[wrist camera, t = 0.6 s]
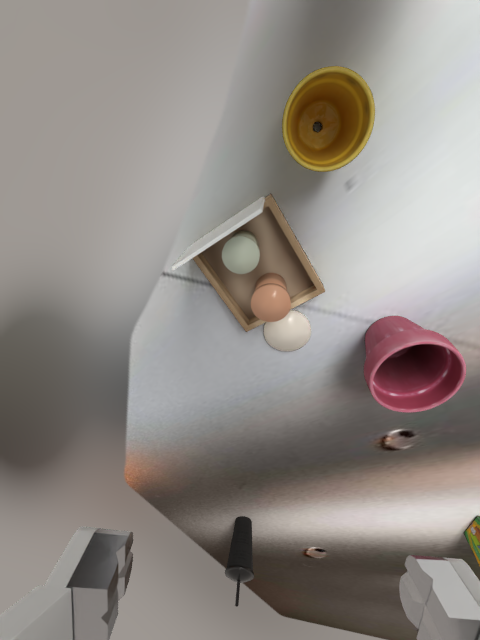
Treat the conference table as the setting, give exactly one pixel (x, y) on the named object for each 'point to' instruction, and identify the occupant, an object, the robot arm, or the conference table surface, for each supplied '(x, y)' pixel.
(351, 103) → the plant pot
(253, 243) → the sage pot
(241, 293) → the brown wooden tray
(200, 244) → the propped lid
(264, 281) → the peach mushroom knob
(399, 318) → the plant pot
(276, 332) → the cream disc
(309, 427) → the conference table surface
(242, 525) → the drinking cup
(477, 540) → the chalk box
